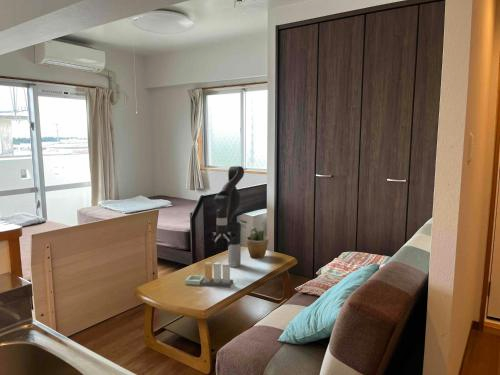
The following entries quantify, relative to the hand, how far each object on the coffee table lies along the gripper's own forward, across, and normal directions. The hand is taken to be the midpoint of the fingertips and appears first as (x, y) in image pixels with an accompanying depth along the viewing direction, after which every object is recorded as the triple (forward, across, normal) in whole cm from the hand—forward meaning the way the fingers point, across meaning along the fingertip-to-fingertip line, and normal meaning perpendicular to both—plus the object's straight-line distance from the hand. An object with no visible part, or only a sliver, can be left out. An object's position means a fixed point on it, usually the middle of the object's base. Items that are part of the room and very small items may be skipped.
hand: (222, 246), depth 266 cm
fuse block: (+20, +4, +20) cm, 29 cm away
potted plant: (+18, -29, -35) cm, 49 cm away
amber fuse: (+18, +9, +18) cm, 27 cm away
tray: (+20, +18, +15) cm, 31 cm away
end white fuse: (+18, -2, +22) cm, 28 cm away
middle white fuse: (+18, +4, +20) cm, 27 cm away
